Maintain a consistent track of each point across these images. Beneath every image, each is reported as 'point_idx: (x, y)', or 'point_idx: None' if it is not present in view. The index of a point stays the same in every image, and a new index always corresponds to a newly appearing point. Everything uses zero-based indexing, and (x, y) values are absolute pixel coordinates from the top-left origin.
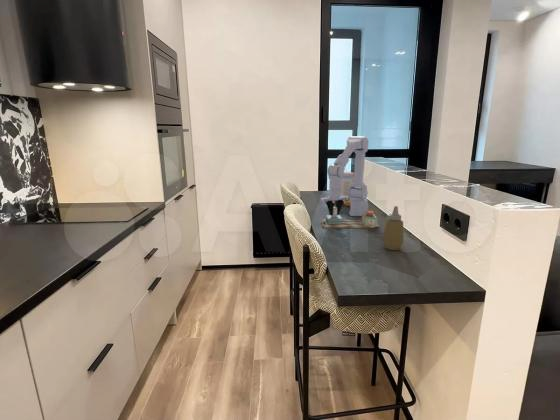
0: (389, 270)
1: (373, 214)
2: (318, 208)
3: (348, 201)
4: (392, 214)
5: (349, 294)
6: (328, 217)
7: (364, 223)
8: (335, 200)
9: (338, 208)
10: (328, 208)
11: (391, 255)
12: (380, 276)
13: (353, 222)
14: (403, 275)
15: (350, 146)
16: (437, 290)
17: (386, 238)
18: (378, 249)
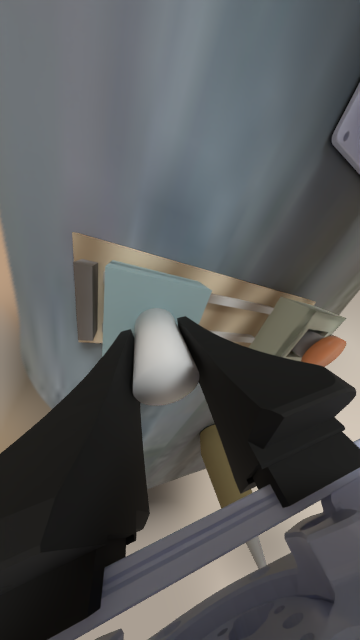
0: (165, 469)
1: (331, 330)
2: None
3: None
4: None
5: None
6: (111, 333)
7: (256, 343)
8: (213, 532)
9: (200, 382)
10: (93, 376)
11: (192, 445)
12: (148, 479)
13: (238, 313)
14: (173, 470)
15: None
16: (184, 475)
17: (204, 462)
18: (186, 437)
